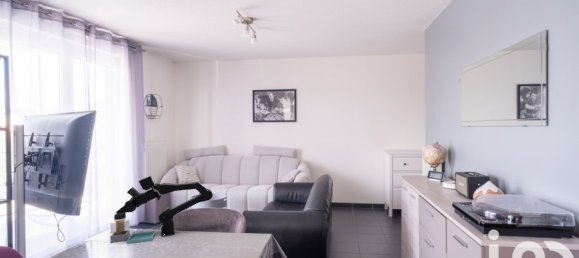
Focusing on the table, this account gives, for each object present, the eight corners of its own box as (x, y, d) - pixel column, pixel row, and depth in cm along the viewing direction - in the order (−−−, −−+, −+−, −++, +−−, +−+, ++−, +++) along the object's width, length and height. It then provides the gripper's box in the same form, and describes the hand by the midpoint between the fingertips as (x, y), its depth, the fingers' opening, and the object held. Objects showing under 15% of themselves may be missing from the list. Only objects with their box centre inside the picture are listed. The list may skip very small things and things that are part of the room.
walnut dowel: (125, 237, 159) (125, 219, 159) (123, 240, 155) (123, 221, 155) (117, 238, 158) (117, 220, 158) (115, 241, 154) (115, 222, 154)
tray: (155, 235, 164) (155, 231, 164) (151, 242, 153) (151, 238, 153) (132, 238, 161) (131, 233, 161) (126, 246, 149) (126, 241, 149)
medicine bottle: (129, 231, 174) (129, 211, 174) (121, 235, 166) (121, 214, 167) (118, 230, 174) (118, 211, 175) (110, 235, 167) (110, 214, 167)
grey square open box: (129, 238, 161) (129, 230, 161) (126, 242, 154) (126, 234, 154) (114, 239, 159) (114, 231, 159) (110, 244, 152) (110, 236, 152)
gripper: (143, 182, 171) (116, 195, 167) (136, 186, 154) (106, 201, 149) (151, 198, 172) (125, 212, 167) (146, 204, 154) (116, 219, 150)
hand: (118, 210), depth 158 cm, fingers open, 9 cm apart
